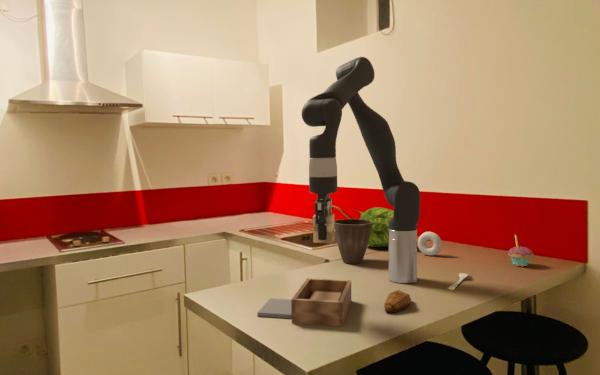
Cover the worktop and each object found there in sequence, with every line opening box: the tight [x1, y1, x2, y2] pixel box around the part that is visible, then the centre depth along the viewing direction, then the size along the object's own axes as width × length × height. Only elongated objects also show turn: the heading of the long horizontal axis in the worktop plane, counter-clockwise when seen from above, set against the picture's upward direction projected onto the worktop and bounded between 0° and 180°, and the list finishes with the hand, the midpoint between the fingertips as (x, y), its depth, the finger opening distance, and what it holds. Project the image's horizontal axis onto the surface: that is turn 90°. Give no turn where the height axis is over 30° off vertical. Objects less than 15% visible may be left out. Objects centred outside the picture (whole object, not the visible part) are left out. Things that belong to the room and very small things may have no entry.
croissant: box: [384, 289, 412, 313], centre depth 127 cm, size 14×7×5 cm, turn 144°
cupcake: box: [507, 233, 535, 265], centre depth 170 cm, size 9×8×12 cm
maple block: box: [312, 213, 336, 244], centre depth 123 cm, size 5×5×7 cm
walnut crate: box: [290, 278, 352, 327], centre depth 124 cm, size 13×20×6 cm, turn 168°
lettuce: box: [359, 206, 394, 248], centre depth 206 cm, size 19×23×18 cm
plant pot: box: [334, 218, 372, 265], centre depth 180 cm, size 15×15×16 cm
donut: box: [417, 231, 443, 256], centre depth 189 cm, size 10×4×10 cm, turn 55°
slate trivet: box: [256, 298, 292, 319], centre depth 126 cm, size 9×12×1 cm
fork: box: [448, 272, 471, 288], centre depth 150 cm, size 3×21×3 cm, turn 145°
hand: (324, 237), depth 124 cm, fingers closed on maple block, 5 cm apart
